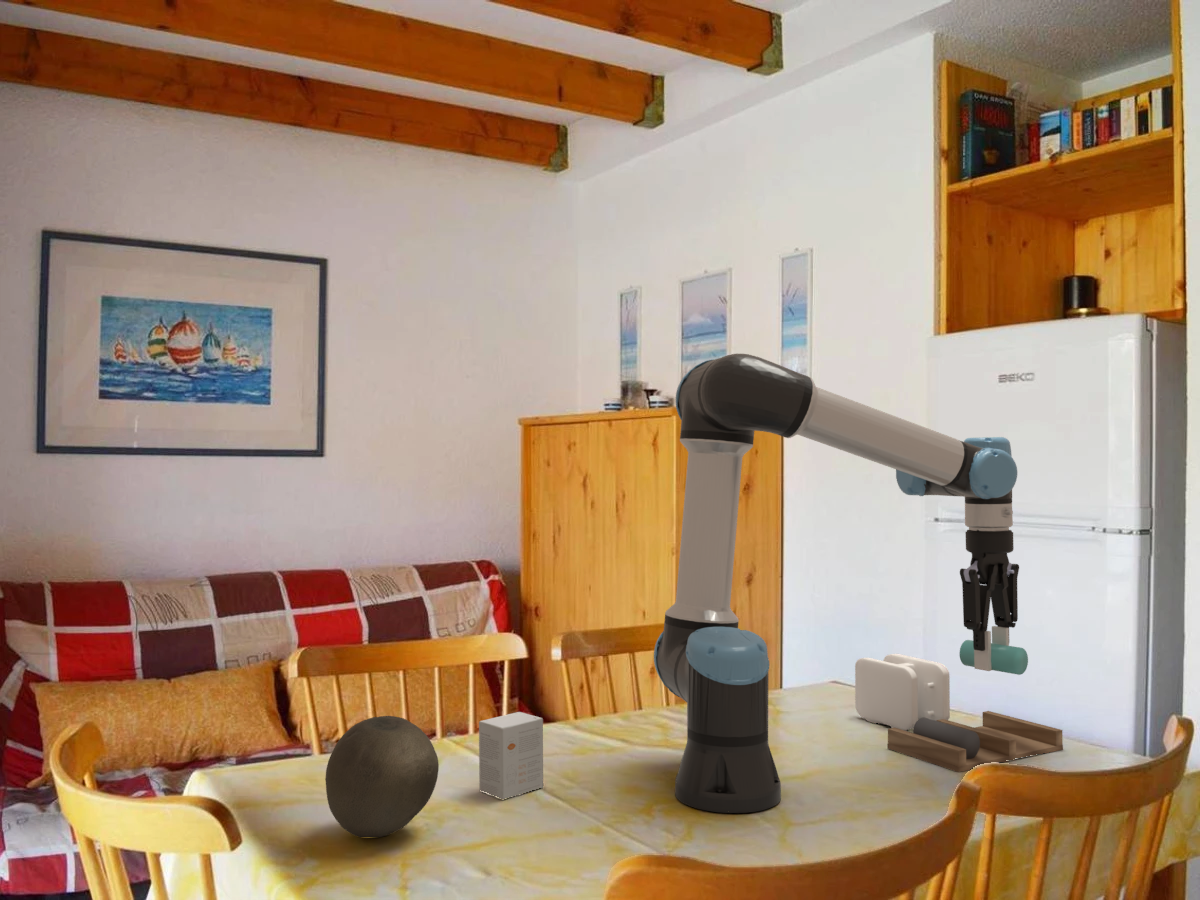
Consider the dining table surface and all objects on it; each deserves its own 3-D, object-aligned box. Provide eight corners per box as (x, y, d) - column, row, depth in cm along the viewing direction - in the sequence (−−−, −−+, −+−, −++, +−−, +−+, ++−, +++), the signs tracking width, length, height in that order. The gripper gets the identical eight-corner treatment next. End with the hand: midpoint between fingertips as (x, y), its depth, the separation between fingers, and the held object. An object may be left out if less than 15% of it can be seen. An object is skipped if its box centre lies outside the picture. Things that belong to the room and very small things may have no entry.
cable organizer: (851, 717, 193) (850, 655, 193) (891, 710, 198) (891, 650, 198) (911, 735, 180) (910, 669, 180) (953, 728, 185) (952, 663, 185)
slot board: (958, 772, 158) (958, 750, 158) (887, 748, 171) (887, 728, 171) (1062, 749, 170) (1062, 729, 171) (989, 729, 184) (989, 710, 184)
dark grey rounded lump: (335, 863, 123) (335, 738, 123) (318, 824, 136) (318, 711, 136) (449, 845, 128) (449, 725, 129) (422, 810, 141) (422, 701, 142)
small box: (519, 780, 155) (519, 710, 155) (544, 788, 151) (544, 717, 151) (477, 792, 149) (477, 720, 149) (502, 801, 145) (502, 727, 145)
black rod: (929, 745, 172) (911, 742, 170) (933, 719, 173) (915, 716, 171) (977, 760, 163) (958, 757, 161) (981, 732, 164) (963, 729, 162)
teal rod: (956, 660, 173) (963, 636, 175) (971, 669, 176) (977, 645, 177) (1009, 669, 165) (1016, 643, 166) (1024, 678, 167) (1030, 653, 169)
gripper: (977, 532, 163) (980, 678, 163) (1039, 526, 173) (1042, 664, 173) (937, 530, 170) (940, 671, 169) (999, 524, 180) (1002, 657, 179)
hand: (992, 667), depth 171 cm, fingers closed on teal rod, 4 cm apart
